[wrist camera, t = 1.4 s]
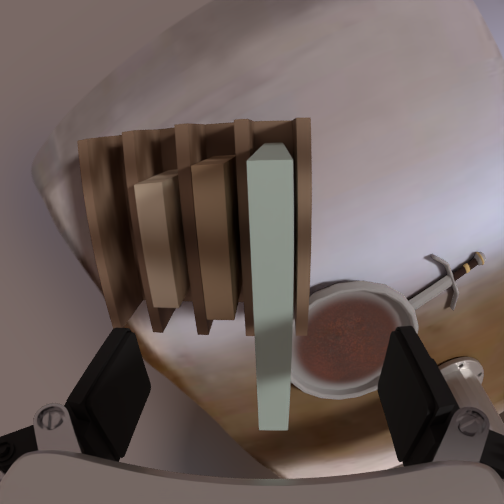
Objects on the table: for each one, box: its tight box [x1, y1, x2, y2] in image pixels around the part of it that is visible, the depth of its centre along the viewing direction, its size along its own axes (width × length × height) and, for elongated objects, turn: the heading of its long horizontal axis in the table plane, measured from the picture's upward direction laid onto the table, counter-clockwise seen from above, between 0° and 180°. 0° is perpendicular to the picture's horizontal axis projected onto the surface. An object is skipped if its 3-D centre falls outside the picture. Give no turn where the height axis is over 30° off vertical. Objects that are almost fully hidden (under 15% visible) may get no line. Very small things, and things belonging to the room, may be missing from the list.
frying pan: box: [291, 252, 485, 399], centre depth 33 cm, size 17×3×28 cm
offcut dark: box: [191, 155, 243, 320], centre depth 27 cm, size 12×2×8 cm, turn 2°
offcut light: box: [134, 169, 190, 308], centre depth 27 cm, size 10×2×8 cm, turn 3°
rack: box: [78, 118, 312, 336], centre depth 28 cm, size 18×19×7 cm
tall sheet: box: [247, 143, 294, 430], centre depth 22 cm, size 14×2×18 cm, turn 2°
